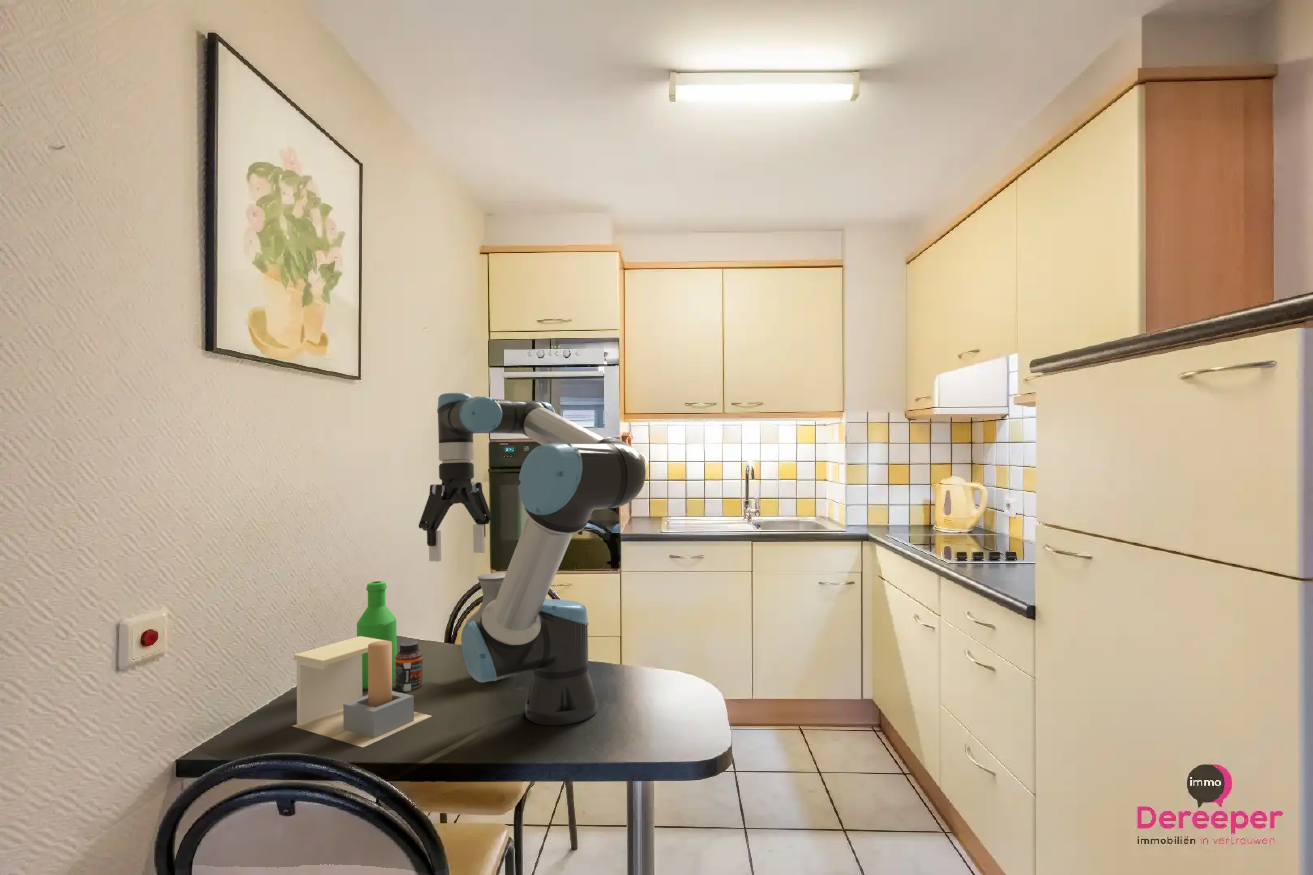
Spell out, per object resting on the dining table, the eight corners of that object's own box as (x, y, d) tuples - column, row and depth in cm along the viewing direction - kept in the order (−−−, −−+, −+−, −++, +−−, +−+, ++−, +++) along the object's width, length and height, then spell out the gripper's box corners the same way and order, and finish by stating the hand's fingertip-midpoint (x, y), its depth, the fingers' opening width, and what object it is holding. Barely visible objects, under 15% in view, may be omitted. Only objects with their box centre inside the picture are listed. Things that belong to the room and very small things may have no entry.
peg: (396, 722, 128) (396, 642, 129) (378, 730, 124) (377, 647, 125) (382, 718, 130) (382, 639, 131) (363, 726, 127) (363, 645, 127)
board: (432, 721, 131) (432, 715, 131) (363, 753, 117) (363, 747, 117) (362, 704, 142) (362, 698, 142) (292, 731, 128) (292, 725, 128)
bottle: (398, 678, 159) (397, 577, 160) (395, 690, 150) (394, 583, 151) (359, 683, 156) (358, 580, 157) (354, 695, 148) (354, 586, 149)
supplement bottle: (413, 697, 146) (412, 647, 146) (390, 695, 147) (389, 646, 147) (427, 688, 152) (427, 639, 152) (405, 686, 153) (404, 639, 153)
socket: (413, 720, 129) (413, 695, 129) (374, 738, 121) (373, 711, 121) (383, 713, 133) (383, 688, 134) (343, 729, 125) (343, 703, 126)
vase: (485, 665, 168) (483, 569, 169) (535, 668, 164) (533, 570, 165) (453, 684, 154) (452, 579, 155) (507, 688, 150) (505, 581, 151)
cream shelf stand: (389, 706, 137) (388, 640, 137) (323, 733, 124) (323, 660, 124) (360, 699, 142) (360, 635, 142) (294, 724, 128) (293, 654, 129)
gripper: (481, 462, 157) (483, 548, 156) (400, 463, 134) (401, 564, 133) (505, 461, 153) (507, 549, 152) (426, 461, 131) (427, 565, 130)
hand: (458, 556), depth 143 cm, fingers open, 13 cm apart
